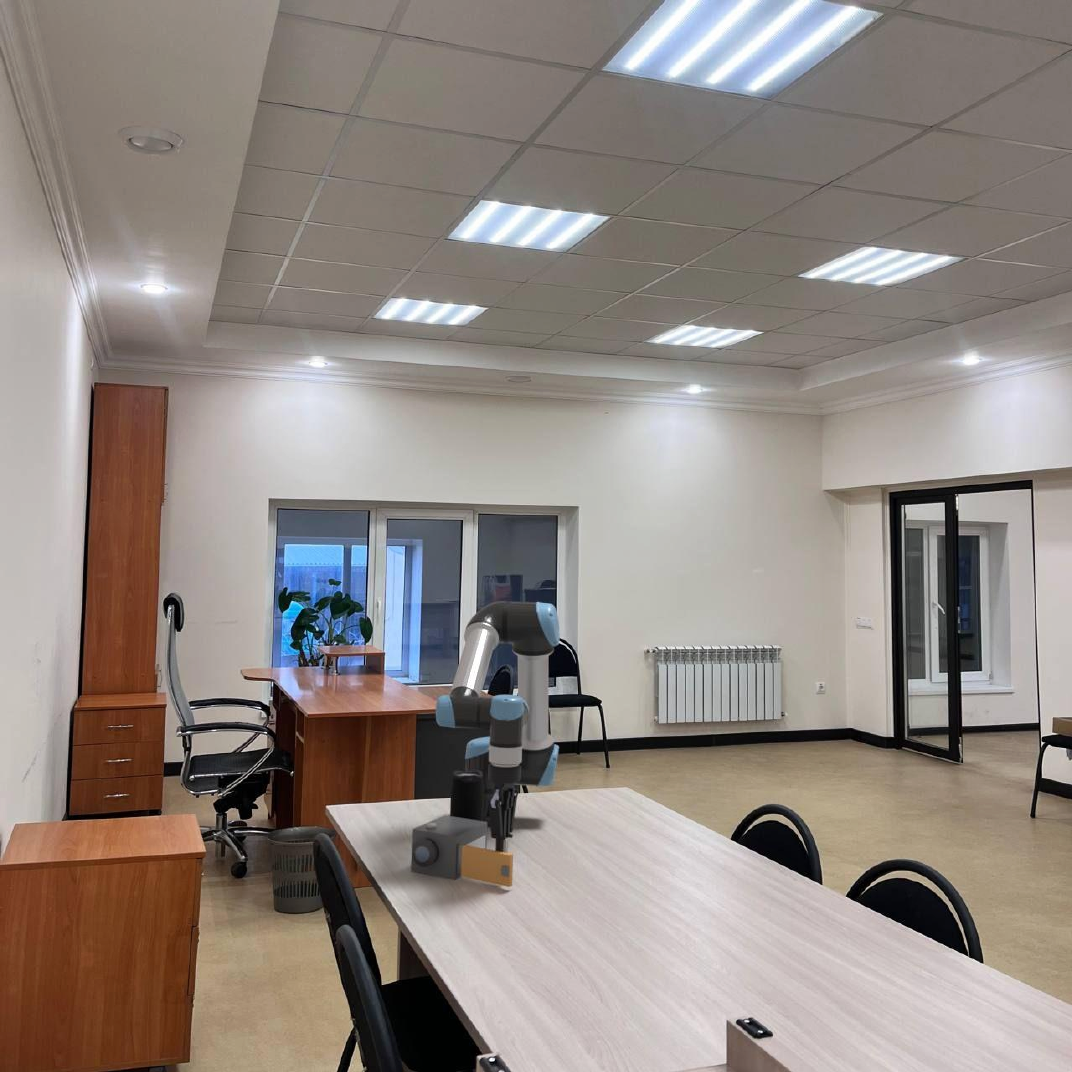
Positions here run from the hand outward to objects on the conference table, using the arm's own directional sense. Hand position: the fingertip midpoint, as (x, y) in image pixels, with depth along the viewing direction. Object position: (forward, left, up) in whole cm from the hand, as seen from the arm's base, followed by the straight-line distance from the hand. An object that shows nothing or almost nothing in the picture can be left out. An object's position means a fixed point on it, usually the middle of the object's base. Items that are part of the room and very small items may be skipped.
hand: (500, 866), depth 222 cm
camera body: (-3, -16, -4) cm, 17 cm away
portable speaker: (-19, -20, -4) cm, 28 cm away
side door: (+3, -3, -3) cm, 5 cm away
